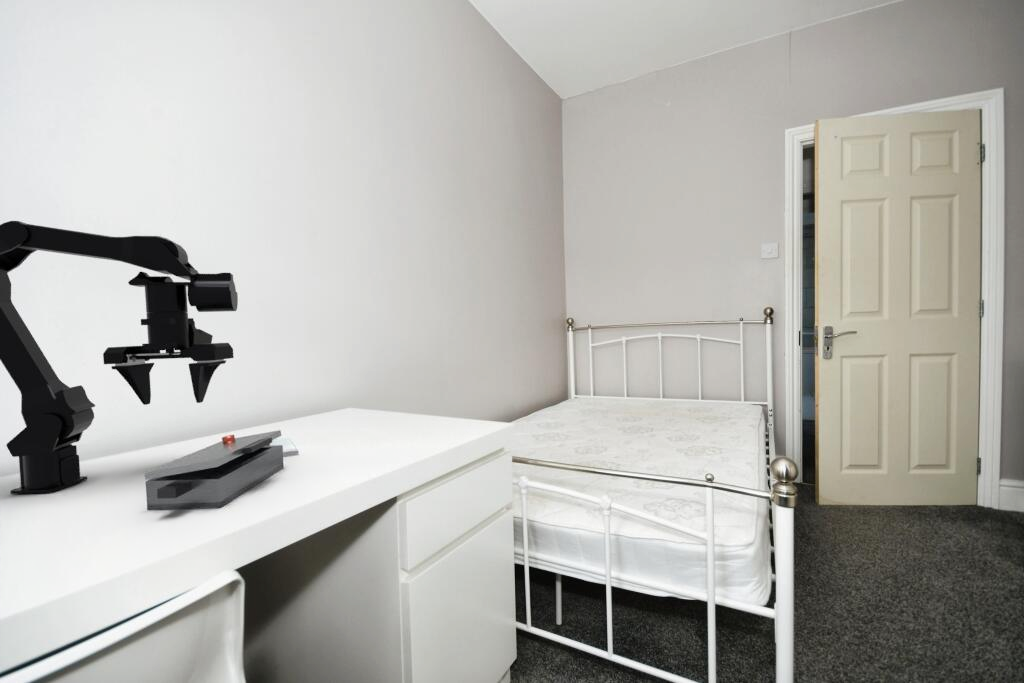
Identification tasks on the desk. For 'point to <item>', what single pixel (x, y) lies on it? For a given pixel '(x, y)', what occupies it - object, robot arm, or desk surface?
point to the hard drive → (286, 446)
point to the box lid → (214, 454)
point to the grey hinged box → (214, 481)
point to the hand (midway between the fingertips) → (173, 403)
